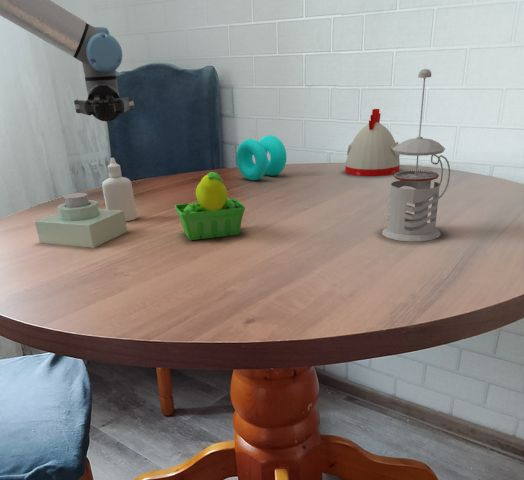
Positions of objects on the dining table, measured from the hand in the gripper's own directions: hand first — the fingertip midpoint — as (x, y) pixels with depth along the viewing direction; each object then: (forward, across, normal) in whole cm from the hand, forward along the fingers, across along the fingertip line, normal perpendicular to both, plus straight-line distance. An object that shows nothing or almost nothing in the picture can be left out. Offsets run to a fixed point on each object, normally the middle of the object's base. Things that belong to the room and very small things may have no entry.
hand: (104, 109), depth 106 cm
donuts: (-21, -37, -20) cm, 47 cm away
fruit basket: (+25, -15, -20) cm, 36 cm away
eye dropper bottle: (+7, 0, -20) cm, 22 cm away
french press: (+38, -48, -20) cm, 65 cm away
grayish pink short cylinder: (+17, +7, -14) cm, 23 cm away
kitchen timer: (-16, -65, -20) cm, 70 cm away
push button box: (+17, +7, -20) cm, 27 cm away
